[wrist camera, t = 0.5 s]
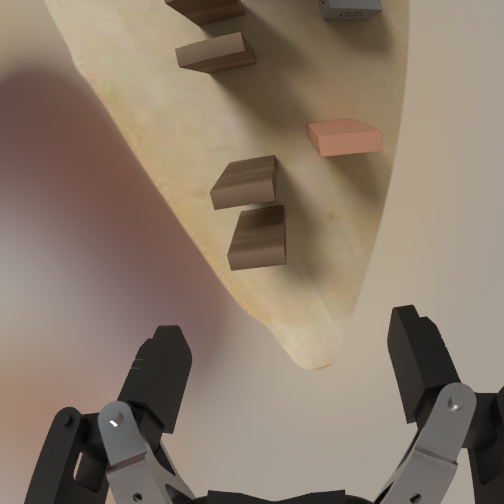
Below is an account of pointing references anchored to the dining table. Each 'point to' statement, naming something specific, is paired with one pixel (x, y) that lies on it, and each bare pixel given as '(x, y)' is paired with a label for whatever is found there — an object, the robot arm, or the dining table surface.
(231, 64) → the domino
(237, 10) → the domino
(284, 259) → the domino
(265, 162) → the domino
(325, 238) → the dining table surface
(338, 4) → the dice cube
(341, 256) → the dining table surface
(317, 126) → the domino
